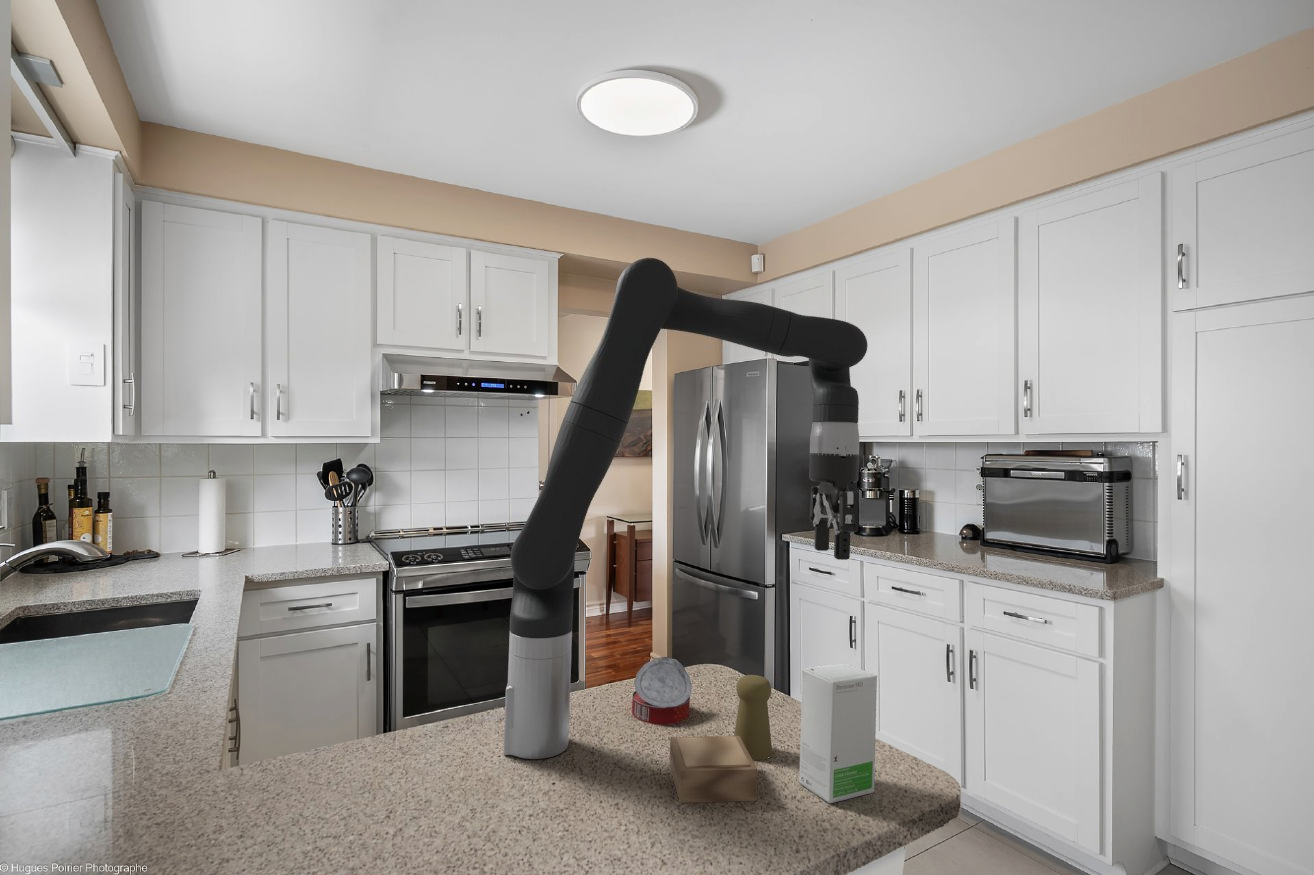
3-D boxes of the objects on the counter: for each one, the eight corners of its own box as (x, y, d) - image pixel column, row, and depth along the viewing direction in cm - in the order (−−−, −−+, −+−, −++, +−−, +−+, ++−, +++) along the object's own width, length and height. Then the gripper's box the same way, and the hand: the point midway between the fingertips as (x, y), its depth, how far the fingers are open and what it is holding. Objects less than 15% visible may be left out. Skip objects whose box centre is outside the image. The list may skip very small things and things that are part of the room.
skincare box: (828, 806, 85) (832, 683, 85) (795, 782, 91) (798, 667, 91) (877, 792, 89) (880, 674, 89) (842, 770, 95) (844, 660, 95)
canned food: (686, 736, 116) (714, 689, 114) (655, 750, 107) (685, 700, 106) (641, 691, 122) (667, 647, 120) (608, 702, 113) (636, 654, 112)
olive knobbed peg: (771, 762, 97) (773, 686, 97) (729, 757, 98) (732, 682, 98) (773, 745, 102) (775, 672, 103) (733, 740, 104) (735, 669, 104)
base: (679, 802, 85) (680, 769, 85) (669, 765, 95) (670, 735, 95) (756, 800, 86) (757, 767, 86) (738, 764, 96) (739, 734, 96)
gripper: (796, 450, 112) (793, 547, 112) (827, 451, 98) (824, 562, 98) (839, 452, 113) (837, 548, 113) (876, 453, 99) (873, 562, 98)
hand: (831, 554), depth 105 cm, fingers open, 8 cm apart
